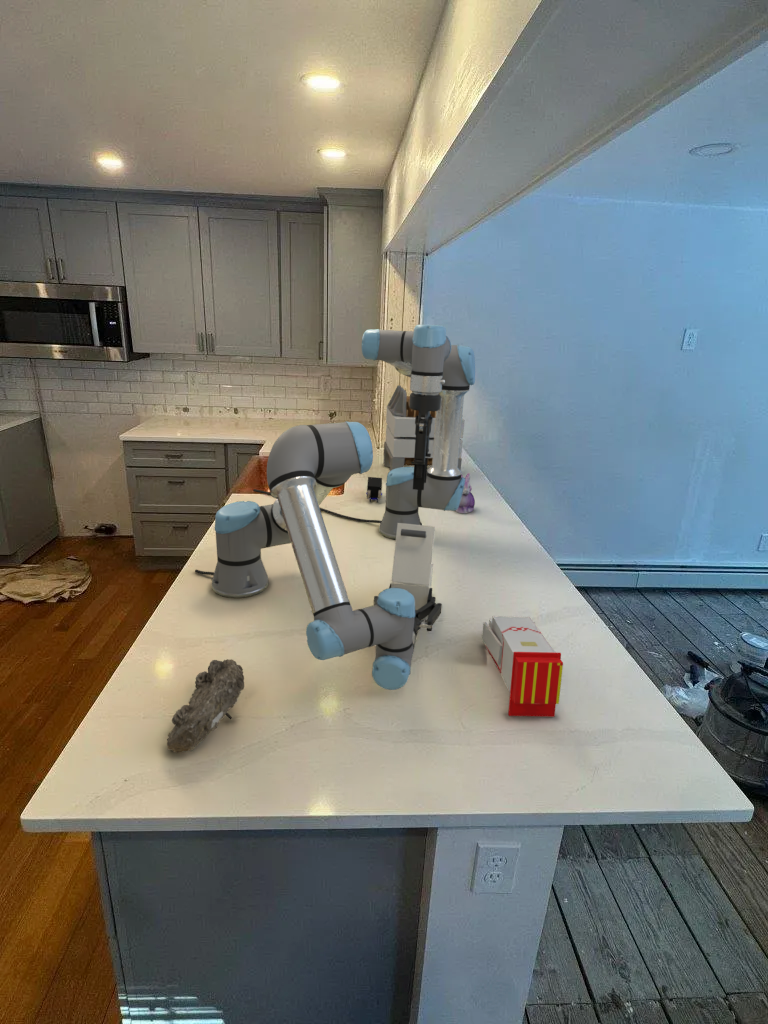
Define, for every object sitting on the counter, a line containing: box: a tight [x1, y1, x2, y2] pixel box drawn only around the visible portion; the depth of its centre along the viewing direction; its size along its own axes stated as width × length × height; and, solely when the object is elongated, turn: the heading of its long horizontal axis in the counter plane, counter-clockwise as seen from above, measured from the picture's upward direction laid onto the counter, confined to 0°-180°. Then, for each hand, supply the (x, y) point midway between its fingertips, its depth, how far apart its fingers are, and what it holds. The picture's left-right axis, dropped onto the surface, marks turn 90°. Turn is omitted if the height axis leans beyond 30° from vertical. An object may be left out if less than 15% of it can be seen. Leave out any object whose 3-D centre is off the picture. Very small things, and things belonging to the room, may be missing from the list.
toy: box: [481, 615, 564, 718], centre depth 123 cm, size 12×13×30 cm
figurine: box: [455, 472, 476, 514], centre depth 224 cm, size 9×10×15 cm
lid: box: [390, 523, 436, 585], centre depth 140 cm, size 15×10×8 cm
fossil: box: [166, 658, 245, 754], centre depth 106 cm, size 22×10×15 cm
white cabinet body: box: [390, 563, 434, 621], centre depth 151 cm, size 14×10×10 cm
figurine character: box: [365, 476, 383, 503], centre depth 234 cm, size 7×8×15 cm
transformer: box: [383, 384, 465, 472], centre depth 268 cm, size 34×33×41 cm
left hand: (411, 590), depth 147 cm, fingers closed on white cabinet body, 9 cm apart
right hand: (419, 485), depth 143 cm, fingers open, 6 cm apart
